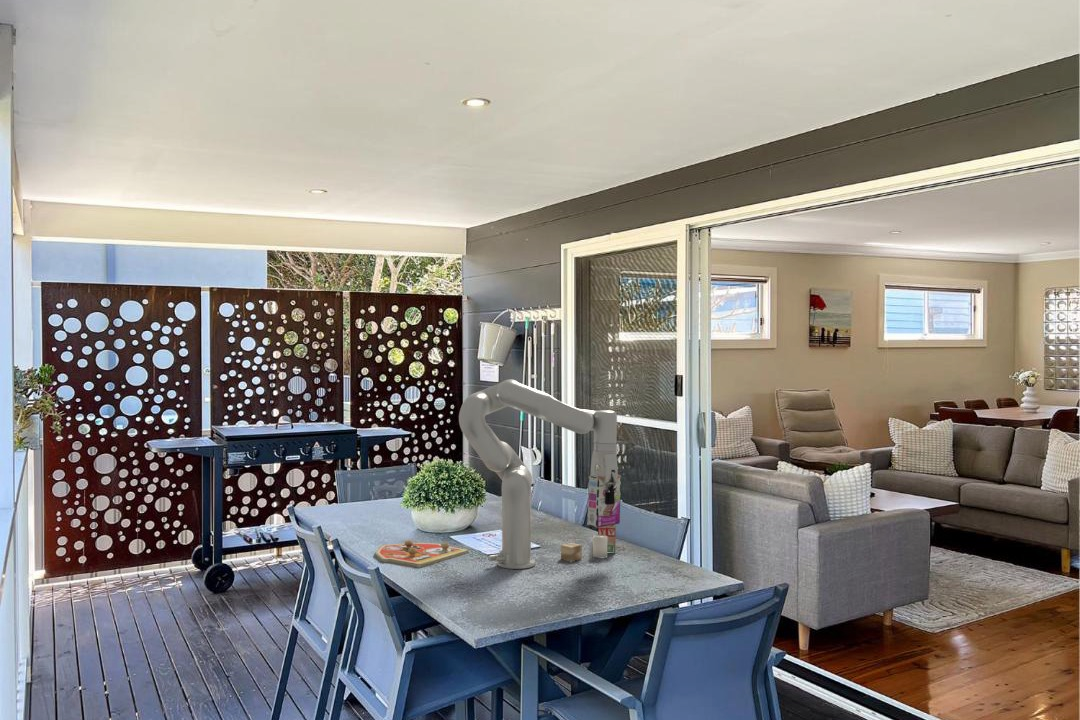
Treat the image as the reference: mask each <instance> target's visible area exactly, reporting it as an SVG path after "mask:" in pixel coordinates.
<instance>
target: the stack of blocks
mask: <svg viewBox="0 0 1080 720" xmlns="http://www.w3.org/2000/svg"><path fill="white" fill-rule="evenodd" d="M616 525H617V524H615V525H609V526H604V527H598V528H597V529H598V530H597V535H606V536H607V552H614V553H615V554H616V540H617V539H616V535H617V534H616V527H617V526H616ZM614 553H613V554H614Z"/></svg>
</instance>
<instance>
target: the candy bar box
mask: <svg viewBox="0 0 1080 720" xmlns="http://www.w3.org/2000/svg"><path fill="white" fill-rule="evenodd" d="M617 479H618V481H619V484H618V486H617V488H616V489H615V490H616V491H615V492H614V504H609V505H606V504H605V492H607V490H606V484H603V478H602V477H600V476H590V475H589V476H588V483H587V485H588V486H587V513H586V515H587V516H586V517H587V518H586V526H588V527H592V528H597V529H598V527H604V526H609V525H615V524H616V525H619V524H620V523H621V522H620V520H621V519H620V518H621V492H622V491H621V487H622V483H621V482H622V475H620V474H618V477H617ZM609 482H611V481H609ZM610 486H611V485H609V487H610Z"/></svg>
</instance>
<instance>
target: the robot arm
mask: <svg viewBox="0 0 1080 720" xmlns="http://www.w3.org/2000/svg"><path fill="white" fill-rule="evenodd" d="M507 407H510V408H512V409H514V410H517V411H520V412H522V413H525V414H528V415H531V416H532V417H536V418H538V419H539V420H542V421H545V422H548V423H550V424H554V425H556V426H559V427H560V428H562V429H566V430H568V431H571V432H573V433H576V434H579V435H580V434H581V435H584V434H588V433H589V432H590V431H593V451H592V455H591V461H590V475H589V476H600V477H602V478H603V484H606V490H607V492H605V504H606V505H609V504H614V492H615V491H616V490H615V489H616V488H617V486H618V484H619V481H618V479H617V477H618V475H619V474H618V473H619V472H618V470H619V469H618V467H619V466H618V457H617V439H618V437H617V435H618V434H617V430H618V429H617V428H618V414H617V412H616V411H614V410H609V409H608V410H607V409H606V410H605V409H604V410H603V409H602V410H591V409H584V408H577V407H575V406H572V405H569V404H566V403H564V402H562V401H561V400H558V399H556V398H555V397H554V396H553V395H550V394H549V393H546V392H544V391H542V390H540V389H539V390H538V389H535V388H533V387H530V386H527V385H526V384H523V383H520V382H518V381H517V380H516V379H505V380H503V381H501V382H499V383H497V384H495V385H493V386H489V387H487V388H485V389H482V390H479V391H476V392H474V393H471V394H470V395H468V396H467V397H466V398H465V399H464V401H463V403H462V404H461V407H460V410H459V414H458V423H459V428H460V430H461V432H462V434H463V435H464V437H465V438H466V440H467V441H468V443H469V444H470V445H471V447H472V448H473V450H474V451H475V452H476V453H477V456H479V458H480V459H481V461H482V462H483V464H484V465H485V466H486V468H487V469H488V470H490V471H491V472H495V473H496V475H497V476H498V477H499V479H500V480H501V481H502V482H501V515H502V516H501V518H502V519H501V522H502V523H501V527H502V529H501V530H502V531H501V534H502V535H501V537H502V538H501V550H499V551H498V553H496V554H491V555H490V554H489V555H488V561H489V562H496V564H497V566H498V567H501V568H502V569H503V568H504V569H510V570H522V569H529V568H533V567H535V566H536V560H535V559H533V558H532V551H531V550H532V495H531V494H532V484H533V476H532V474H531V471H530V469H529V468H528V467H527V466H526V465H525V463H524V462H523V461H522V459H521V458H520V457H519V456H518V454H517V452H516V451H515V449H513V448H512V446H511V445H509V444H508V443H507V442H505V441H503V440H500V438H498V436H497V435H496V434H495V432H494V430H493V429H492V427H490V426H489V425H488V423H487V422H486V416H487V415H489V414H493V413H494V412H497V411H500V410H502V409H504V408H507ZM609 481H611V482H609ZM609 485H611V486H610V487H609Z"/></svg>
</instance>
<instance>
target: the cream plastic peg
mask: <svg viewBox="0 0 1080 720" xmlns="http://www.w3.org/2000/svg"><path fill="white" fill-rule="evenodd" d="M593 556H594V557H593ZM606 556H607V557H608V553H607V536H606V535H598V534H594V535H593V536H592V557H593V558H595V557H606ZM607 557H606V558H607Z"/></svg>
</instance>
